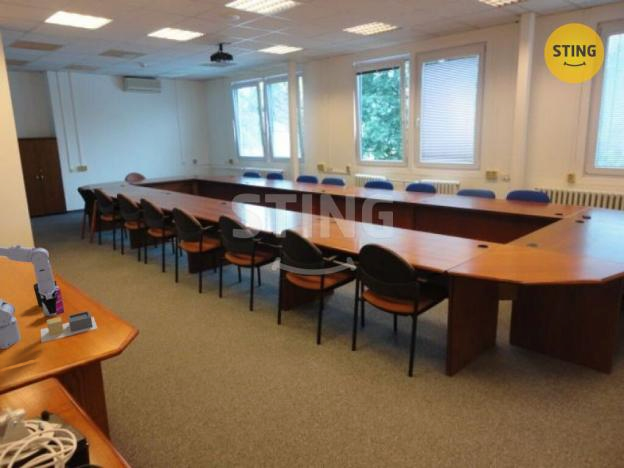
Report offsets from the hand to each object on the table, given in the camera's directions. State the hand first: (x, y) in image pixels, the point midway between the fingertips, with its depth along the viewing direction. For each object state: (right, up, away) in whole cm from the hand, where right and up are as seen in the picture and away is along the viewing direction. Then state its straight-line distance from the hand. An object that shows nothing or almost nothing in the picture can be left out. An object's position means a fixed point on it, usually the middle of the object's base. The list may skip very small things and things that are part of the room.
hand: (52, 310), depth 177 cm
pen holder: (-23, -3, +36) cm, 42 cm away
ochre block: (0, -9, +2) cm, 10 cm away
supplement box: (-12, -6, +22) cm, 26 cm away
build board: (+4, -9, +5) cm, 11 cm away
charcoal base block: (+8, -8, +7) cm, 13 cm away
